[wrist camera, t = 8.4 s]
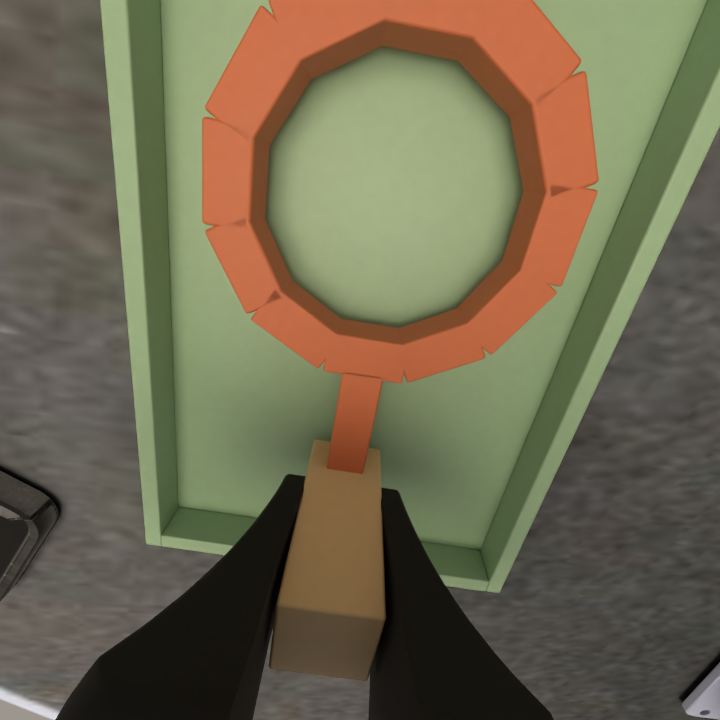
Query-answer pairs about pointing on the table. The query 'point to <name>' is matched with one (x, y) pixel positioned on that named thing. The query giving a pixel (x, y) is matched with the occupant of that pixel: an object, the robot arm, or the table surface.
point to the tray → (387, 264)
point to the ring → (371, 341)
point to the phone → (21, 527)
